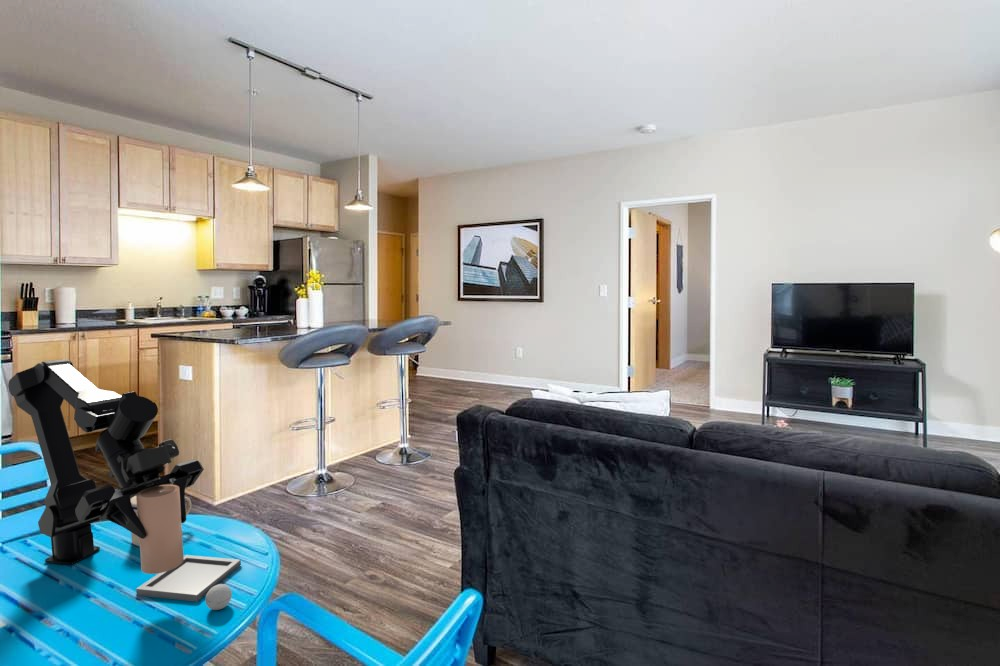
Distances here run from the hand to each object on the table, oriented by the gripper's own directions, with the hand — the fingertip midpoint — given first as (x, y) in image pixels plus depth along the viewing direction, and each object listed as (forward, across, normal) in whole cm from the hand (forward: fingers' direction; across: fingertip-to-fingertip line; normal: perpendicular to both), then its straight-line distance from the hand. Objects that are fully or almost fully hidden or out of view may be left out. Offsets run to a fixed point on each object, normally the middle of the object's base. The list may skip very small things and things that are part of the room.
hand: (165, 529), depth 91 cm
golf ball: (+16, +4, +4) cm, 16 cm away
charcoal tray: (+7, +6, +12) cm, 15 cm away
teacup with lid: (-9, +14, +29) cm, 33 cm away
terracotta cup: (+4, 0, +6) cm, 7 cm away
